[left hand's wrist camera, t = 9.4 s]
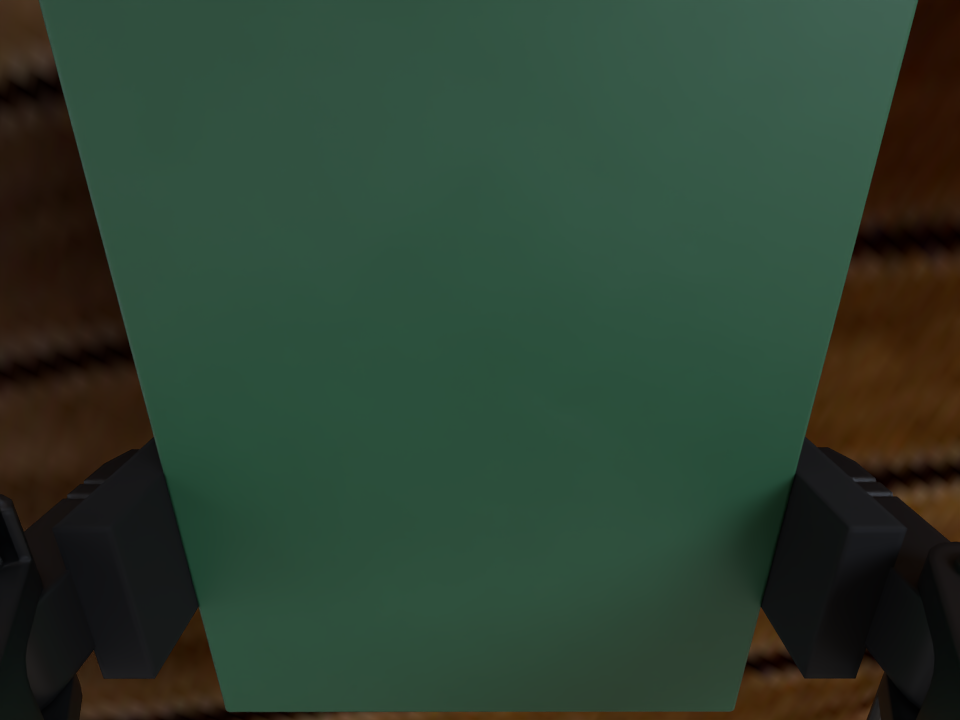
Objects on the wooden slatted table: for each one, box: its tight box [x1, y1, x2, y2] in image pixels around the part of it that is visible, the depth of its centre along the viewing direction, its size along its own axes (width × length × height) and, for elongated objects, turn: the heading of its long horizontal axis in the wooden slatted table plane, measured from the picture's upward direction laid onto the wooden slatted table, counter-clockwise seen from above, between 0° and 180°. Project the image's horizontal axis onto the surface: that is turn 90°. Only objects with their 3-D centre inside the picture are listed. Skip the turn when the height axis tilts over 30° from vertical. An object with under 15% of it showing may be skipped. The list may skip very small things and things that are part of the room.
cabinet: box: [39, 0, 918, 712], centre depth 12 cm, size 14×10×10 cm
